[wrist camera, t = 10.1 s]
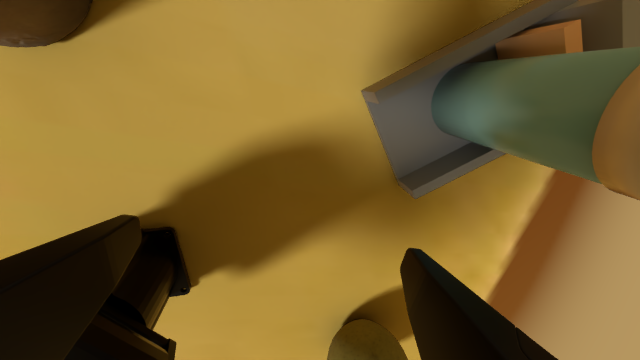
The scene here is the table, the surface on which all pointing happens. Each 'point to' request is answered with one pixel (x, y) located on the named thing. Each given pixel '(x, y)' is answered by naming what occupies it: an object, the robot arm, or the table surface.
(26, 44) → the pillar candle
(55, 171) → the table surface
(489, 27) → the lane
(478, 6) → the table surface
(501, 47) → the plate
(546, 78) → the jar
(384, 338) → the apple
